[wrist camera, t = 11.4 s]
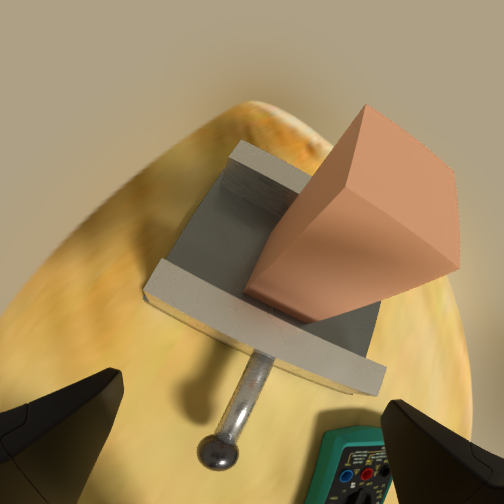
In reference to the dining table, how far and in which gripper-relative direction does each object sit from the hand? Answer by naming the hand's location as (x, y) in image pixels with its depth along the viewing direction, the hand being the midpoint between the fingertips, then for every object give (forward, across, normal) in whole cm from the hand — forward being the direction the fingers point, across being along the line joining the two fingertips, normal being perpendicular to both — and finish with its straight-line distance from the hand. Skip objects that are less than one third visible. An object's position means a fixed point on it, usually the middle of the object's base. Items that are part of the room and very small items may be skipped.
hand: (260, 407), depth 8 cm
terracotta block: (+12, -2, -1) cm, 13 cm away
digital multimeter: (+4, -9, +16) cm, 19 cm away
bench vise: (+11, -1, +3) cm, 11 cm away
